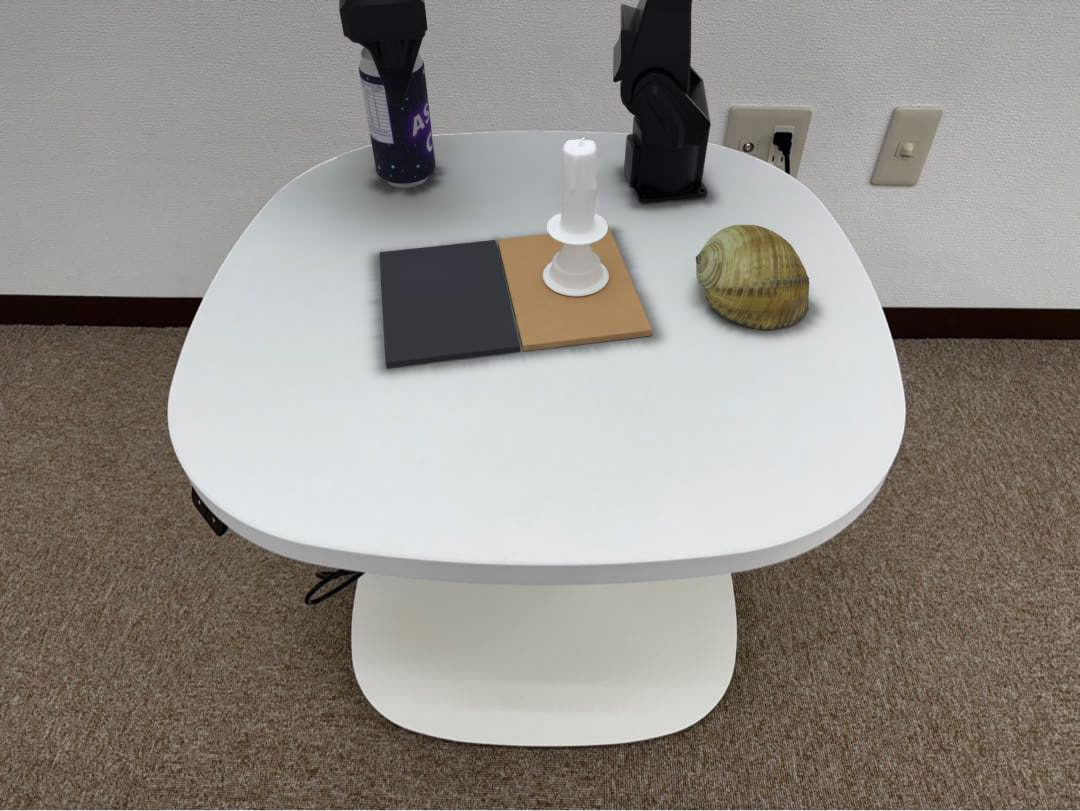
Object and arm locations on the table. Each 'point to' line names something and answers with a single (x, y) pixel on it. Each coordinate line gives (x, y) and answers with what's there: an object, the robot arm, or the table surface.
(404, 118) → the beverage can
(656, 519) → the table surface
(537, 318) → the sorting mat
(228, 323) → the table surface
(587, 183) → the candle
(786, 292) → the seashell
